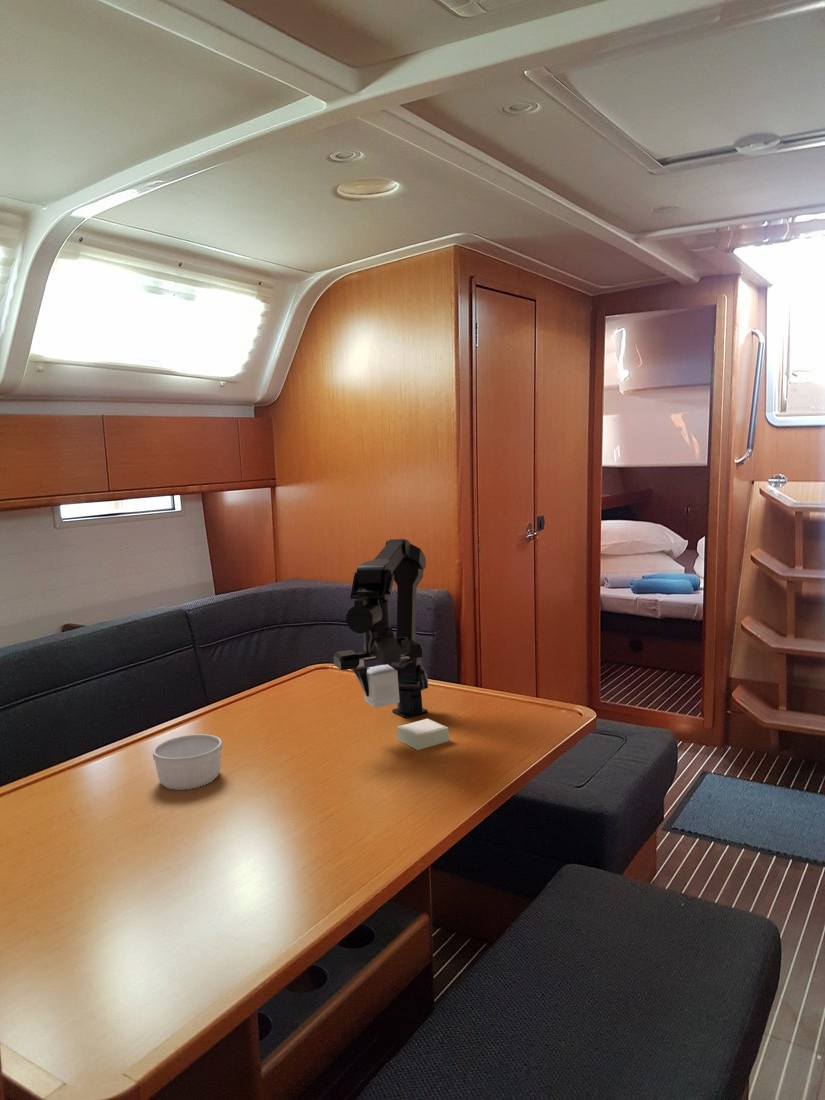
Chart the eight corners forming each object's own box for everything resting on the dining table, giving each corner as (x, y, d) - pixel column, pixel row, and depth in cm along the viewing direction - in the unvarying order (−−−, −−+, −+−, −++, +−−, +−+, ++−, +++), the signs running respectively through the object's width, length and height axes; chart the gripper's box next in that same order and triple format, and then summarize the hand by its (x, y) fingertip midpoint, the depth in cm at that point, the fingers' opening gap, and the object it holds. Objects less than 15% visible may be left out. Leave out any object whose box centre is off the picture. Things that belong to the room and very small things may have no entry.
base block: (397, 739, 167) (397, 725, 166) (428, 731, 171) (427, 717, 170) (417, 750, 160) (416, 735, 160) (448, 741, 164) (448, 726, 164)
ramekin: (237, 776, 152) (234, 742, 151) (177, 799, 142) (174, 763, 142) (201, 761, 161) (198, 729, 160) (143, 782, 151) (139, 748, 151)
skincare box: (400, 703, 163) (398, 670, 162) (373, 708, 161) (371, 675, 160) (389, 695, 169) (387, 663, 168) (363, 700, 166) (361, 668, 165)
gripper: (346, 635, 152) (352, 711, 154) (432, 623, 159) (436, 695, 161) (330, 626, 162) (335, 697, 164) (411, 614, 169) (415, 682, 171)
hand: (381, 693), depth 165 cm, fingers closed on skincare box, 6 cm apart
